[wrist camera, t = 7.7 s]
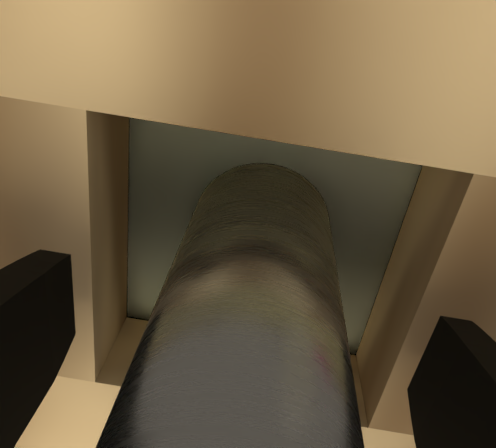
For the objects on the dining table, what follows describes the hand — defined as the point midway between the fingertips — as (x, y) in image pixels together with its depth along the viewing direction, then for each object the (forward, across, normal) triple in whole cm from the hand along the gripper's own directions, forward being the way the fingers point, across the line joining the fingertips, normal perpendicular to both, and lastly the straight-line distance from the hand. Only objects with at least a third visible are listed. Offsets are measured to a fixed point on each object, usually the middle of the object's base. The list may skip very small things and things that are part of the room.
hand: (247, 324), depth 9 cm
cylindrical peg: (+3, 0, 0) cm, 3 cm away
